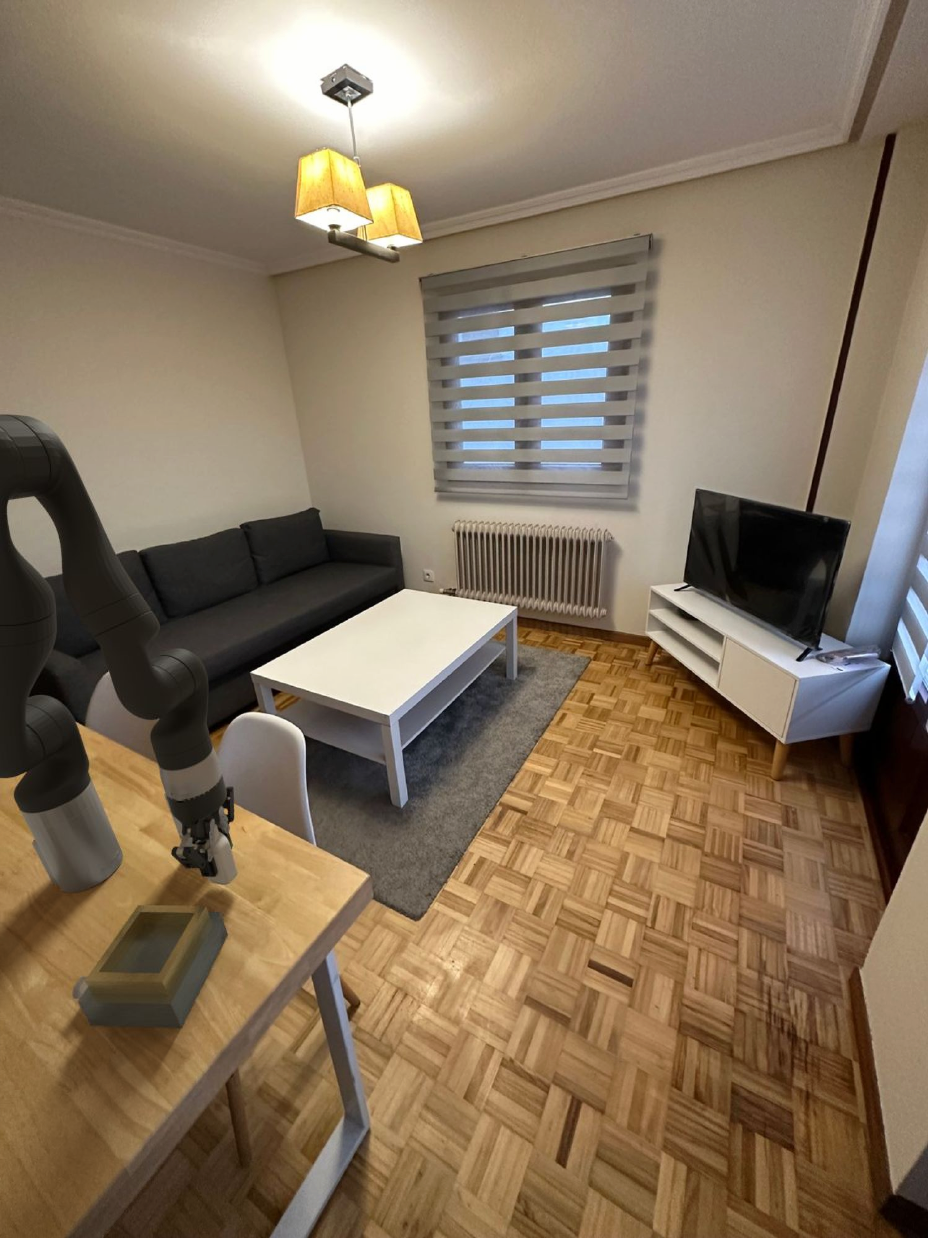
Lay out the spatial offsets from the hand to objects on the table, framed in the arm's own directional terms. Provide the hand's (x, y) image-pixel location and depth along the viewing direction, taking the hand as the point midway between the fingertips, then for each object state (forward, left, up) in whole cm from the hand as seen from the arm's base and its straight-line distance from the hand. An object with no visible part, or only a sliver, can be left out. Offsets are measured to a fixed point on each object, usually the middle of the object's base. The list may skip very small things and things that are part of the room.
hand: (218, 862), depth 77 cm
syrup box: (-7, +7, -6) cm, 11 cm away
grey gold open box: (-3, -14, -5) cm, 15 cm away
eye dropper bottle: (0, 0, -3) cm, 3 cm away
